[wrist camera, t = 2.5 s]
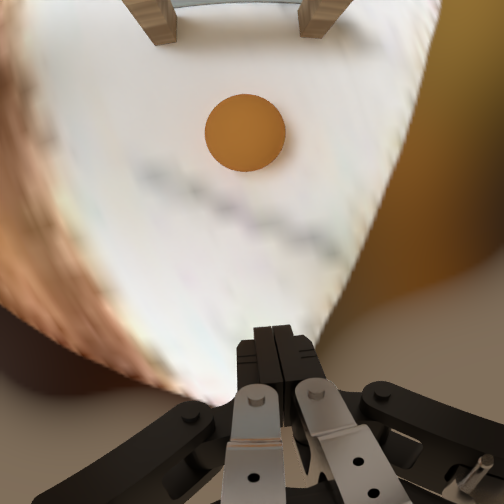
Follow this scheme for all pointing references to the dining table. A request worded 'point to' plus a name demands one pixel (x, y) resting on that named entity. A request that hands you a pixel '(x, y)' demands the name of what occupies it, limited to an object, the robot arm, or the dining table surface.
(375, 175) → the dining table surface
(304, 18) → the tan arch
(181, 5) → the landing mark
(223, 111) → the ball
